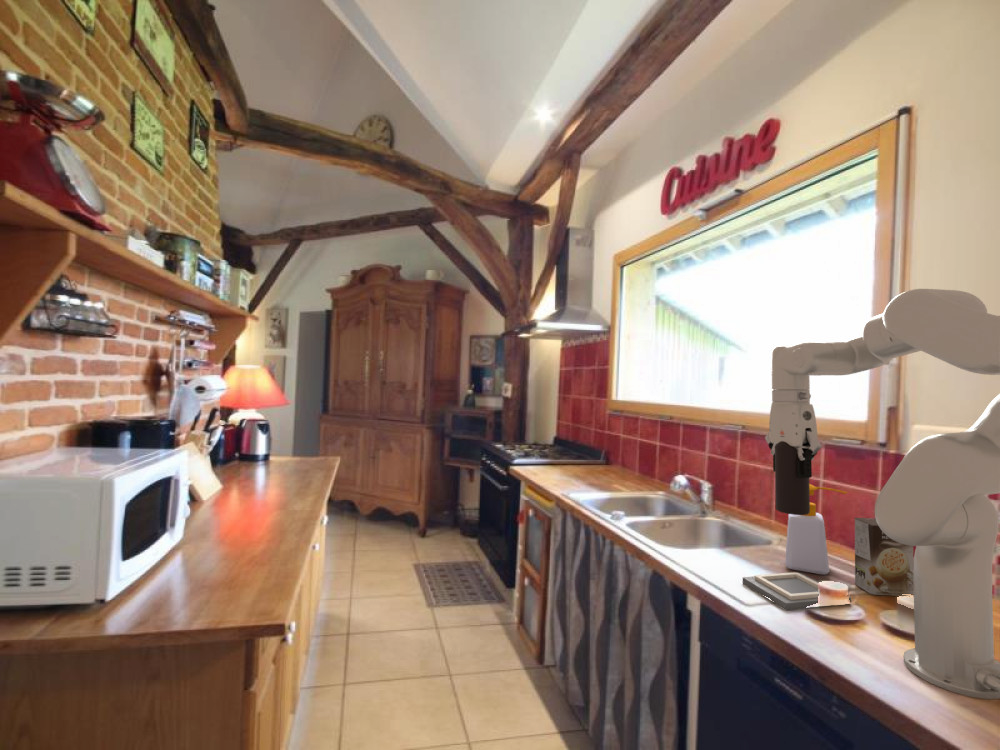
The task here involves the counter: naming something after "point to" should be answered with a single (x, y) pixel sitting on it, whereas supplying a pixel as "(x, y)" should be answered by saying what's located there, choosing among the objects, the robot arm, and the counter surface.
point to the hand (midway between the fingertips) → (791, 473)
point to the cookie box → (881, 561)
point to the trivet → (786, 589)
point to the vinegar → (790, 481)
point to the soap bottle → (807, 540)
